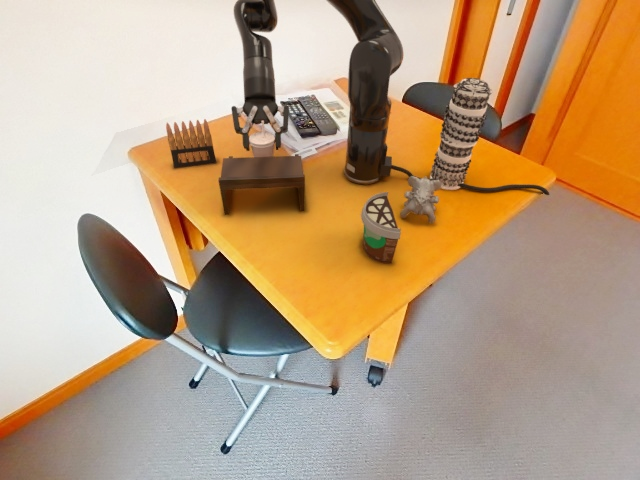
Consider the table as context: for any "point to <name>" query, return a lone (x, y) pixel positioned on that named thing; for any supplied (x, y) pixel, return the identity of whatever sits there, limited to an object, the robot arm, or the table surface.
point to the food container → (379, 229)
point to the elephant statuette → (421, 197)
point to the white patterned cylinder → (460, 132)
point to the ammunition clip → (190, 149)
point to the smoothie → (262, 143)
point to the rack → (261, 175)
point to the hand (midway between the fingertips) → (262, 149)
